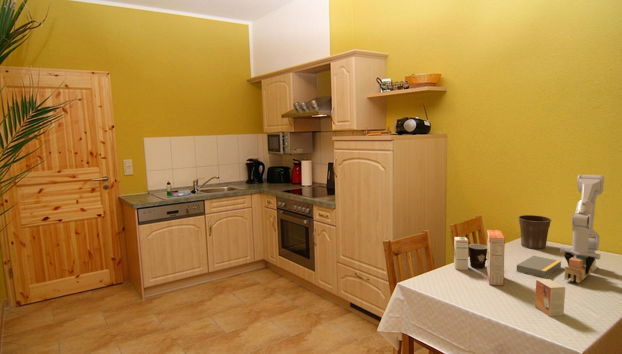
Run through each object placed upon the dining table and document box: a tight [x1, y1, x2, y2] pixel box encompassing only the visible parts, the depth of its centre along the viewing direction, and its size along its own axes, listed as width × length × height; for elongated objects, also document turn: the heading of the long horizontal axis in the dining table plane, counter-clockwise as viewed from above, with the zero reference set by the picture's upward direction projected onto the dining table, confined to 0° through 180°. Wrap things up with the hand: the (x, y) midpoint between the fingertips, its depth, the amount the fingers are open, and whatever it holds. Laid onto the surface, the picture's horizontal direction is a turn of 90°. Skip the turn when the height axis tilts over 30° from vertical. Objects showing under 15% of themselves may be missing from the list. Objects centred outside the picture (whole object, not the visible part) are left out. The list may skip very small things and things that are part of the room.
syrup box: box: [453, 236, 469, 271], centre depth 189 cm, size 6×6×14 cm
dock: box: [516, 255, 562, 278], centre depth 186 cm, size 20×12×3 cm, turn 131°
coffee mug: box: [468, 243, 487, 270], centre depth 190 cm, size 12×9×10 cm
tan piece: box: [564, 263, 593, 283], centre depth 173 cm, size 18×6×6 cm, turn 131°
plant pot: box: [518, 214, 552, 250], centre depth 222 cm, size 16×16×16 cm
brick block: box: [568, 256, 583, 270], centre depth 170 cm, size 4×4×4 cm
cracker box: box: [486, 229, 506, 287], centre depth 173 cm, size 14×6×21 cm, turn 160°
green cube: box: [575, 255, 588, 265], centre depth 176 cm, size 4×4×4 cm
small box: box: [534, 278, 566, 317], centre depth 143 cm, size 8×6×10 cm
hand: (578, 271), depth 174 cm, fingers closed on tan piece, 5 cm apart
